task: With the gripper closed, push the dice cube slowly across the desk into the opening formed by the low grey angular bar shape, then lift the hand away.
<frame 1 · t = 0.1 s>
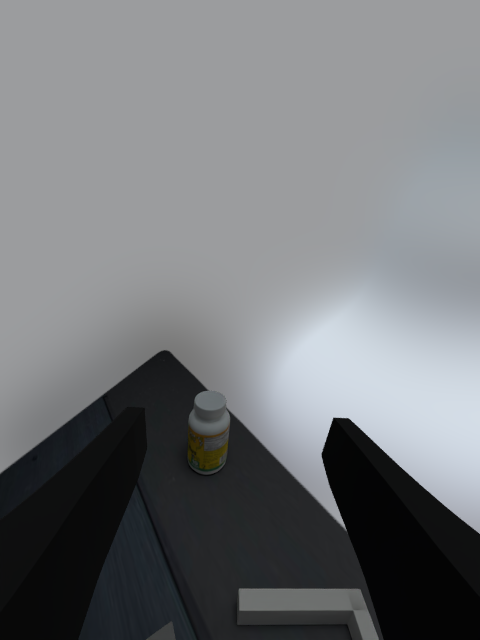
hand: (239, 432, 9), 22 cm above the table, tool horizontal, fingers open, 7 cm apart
supplement bottle: (207, 459, 33), on the table
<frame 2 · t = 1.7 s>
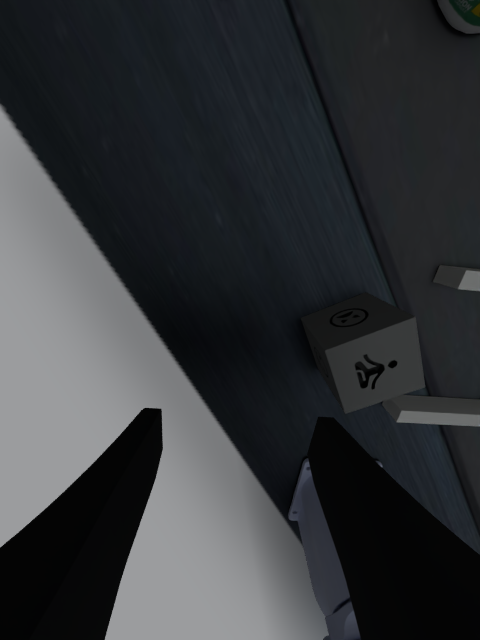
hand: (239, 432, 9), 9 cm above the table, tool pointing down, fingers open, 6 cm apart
dice cube: (339, 331, 18), on the table
grey angular bar shape: (459, 347, 19), on the table
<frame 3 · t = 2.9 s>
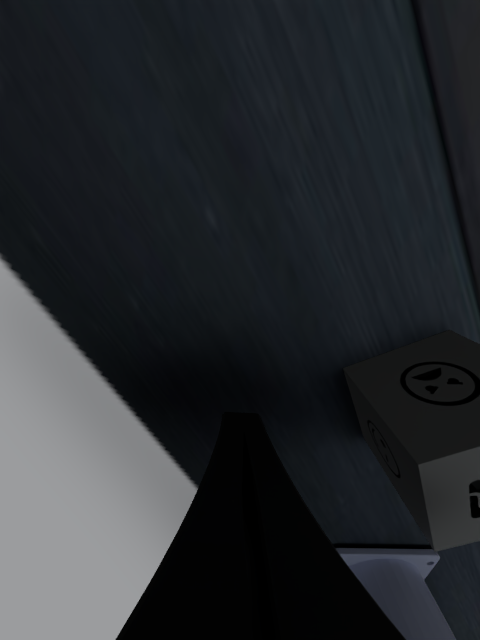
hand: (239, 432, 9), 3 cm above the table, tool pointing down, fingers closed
dice cube: (398, 385, 12), on the table
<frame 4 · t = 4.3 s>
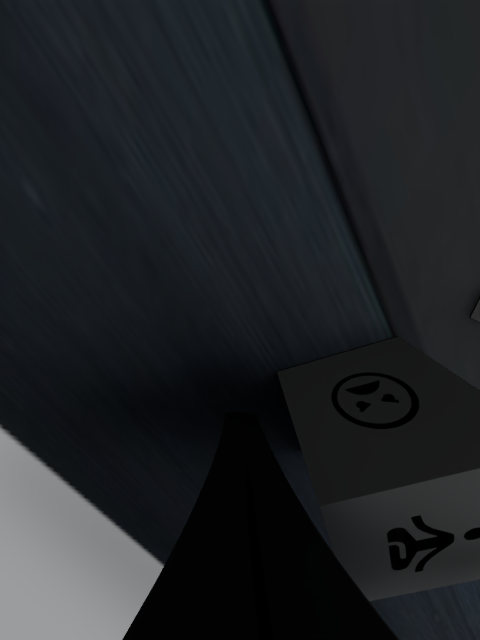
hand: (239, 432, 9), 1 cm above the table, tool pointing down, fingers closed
dice cube: (343, 397, 11), on the table, touching gripper
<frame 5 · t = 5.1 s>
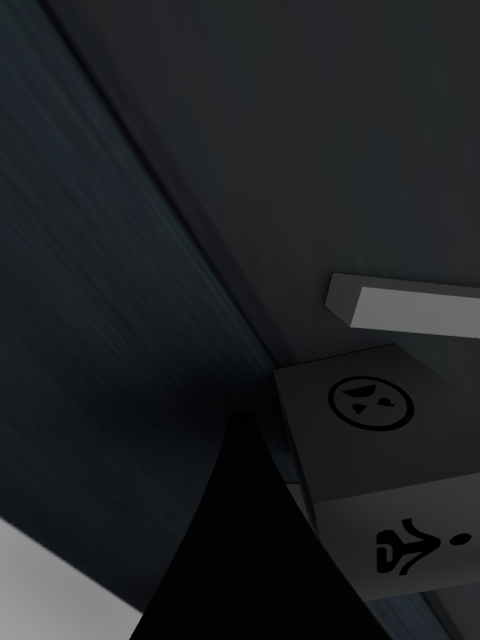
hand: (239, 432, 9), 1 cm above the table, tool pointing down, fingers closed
dice cube: (335, 400, 11), on the table, touching gripper
grey angular bar shape: (392, 415, 11), on the table
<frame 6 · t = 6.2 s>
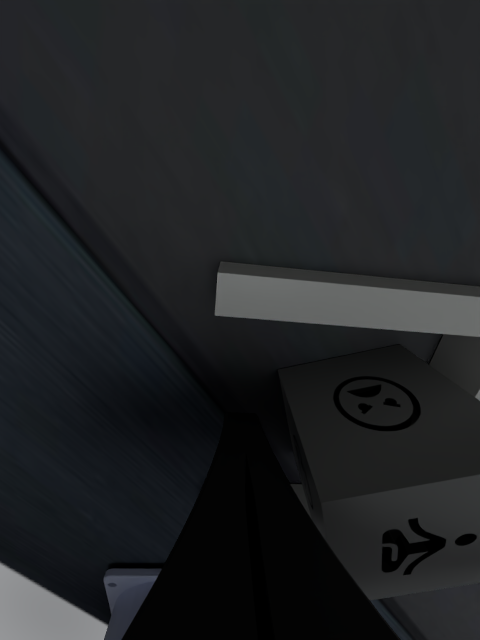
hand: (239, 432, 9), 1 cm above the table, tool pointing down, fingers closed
dice cube: (339, 400, 11), on the table, touching gripper
grey angular bar shape: (310, 410, 11), on the table
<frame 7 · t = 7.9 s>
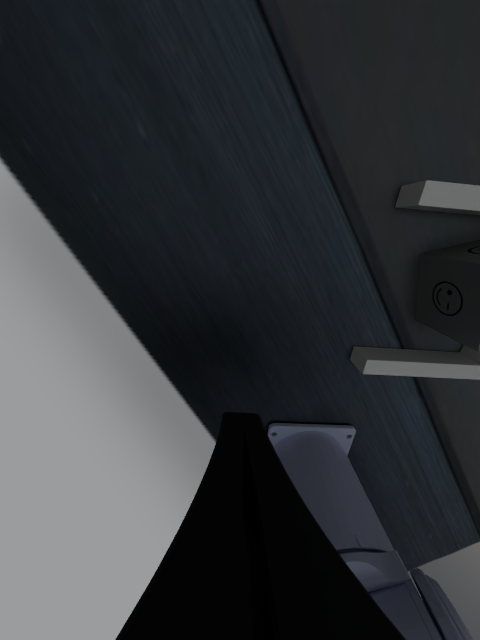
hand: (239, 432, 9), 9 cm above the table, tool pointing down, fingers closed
dice cube: (449, 279, 17), on the table
grey angular bar shape: (431, 289, 17), on the table
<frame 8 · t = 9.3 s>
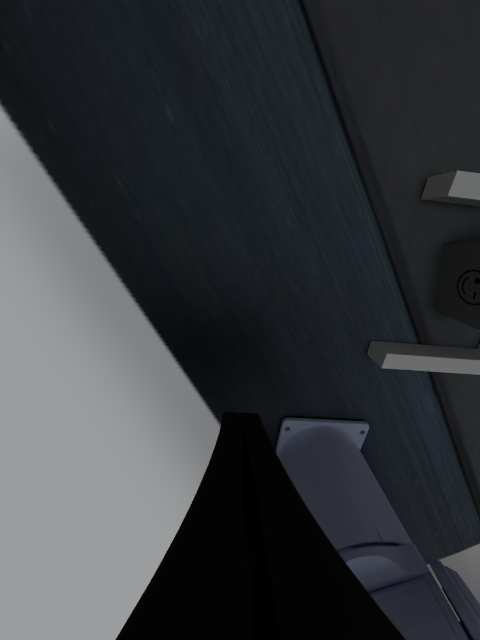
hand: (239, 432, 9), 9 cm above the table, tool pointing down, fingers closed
dice cube: (471, 271, 17), on the table
grey angular bar shape: (452, 283, 17), on the table
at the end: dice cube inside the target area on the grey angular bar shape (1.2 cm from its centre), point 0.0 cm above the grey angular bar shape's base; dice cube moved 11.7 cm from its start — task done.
